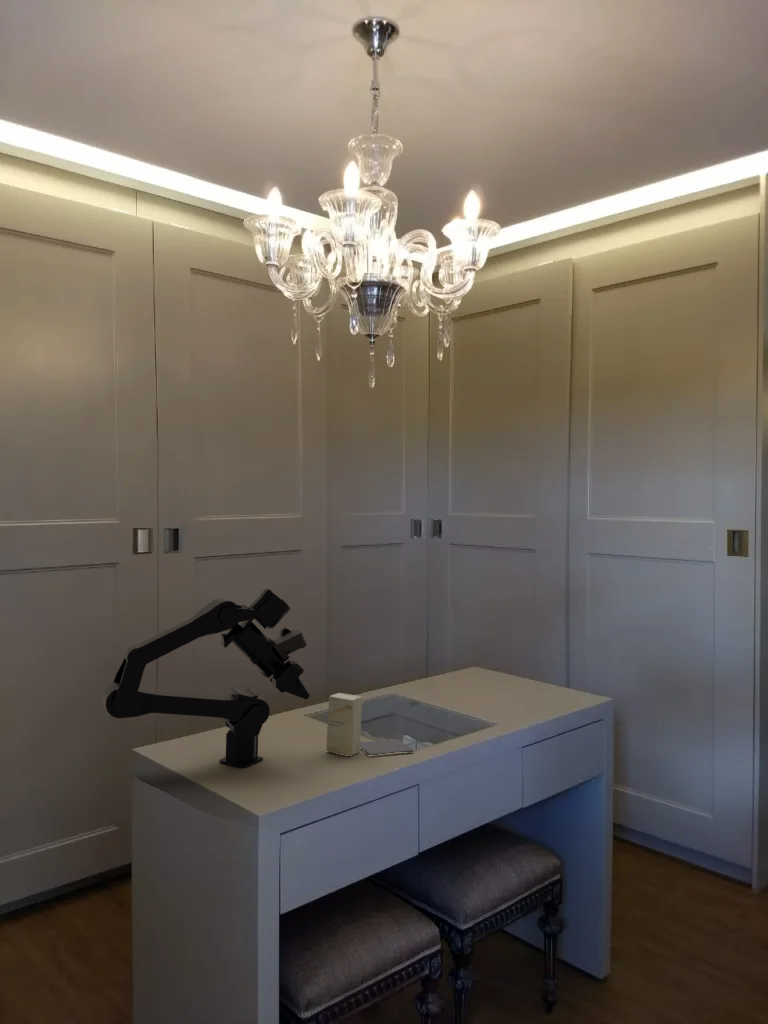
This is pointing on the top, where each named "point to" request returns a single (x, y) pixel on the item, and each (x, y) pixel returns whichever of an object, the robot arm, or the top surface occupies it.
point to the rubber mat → (384, 746)
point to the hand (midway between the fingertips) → (306, 696)
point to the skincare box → (344, 724)
